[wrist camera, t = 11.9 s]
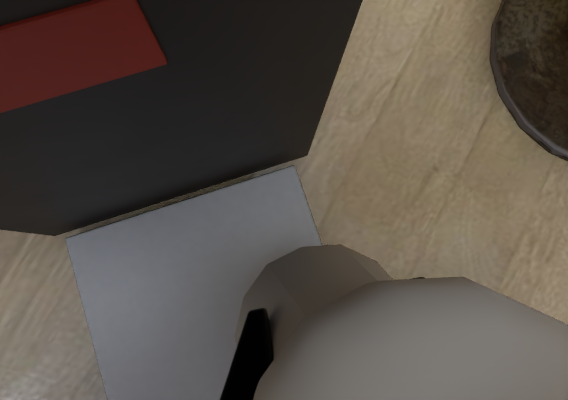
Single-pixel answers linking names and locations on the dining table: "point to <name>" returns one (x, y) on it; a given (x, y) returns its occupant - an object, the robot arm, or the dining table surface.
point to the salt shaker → (398, 335)
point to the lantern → (534, 68)
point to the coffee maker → (164, 163)
